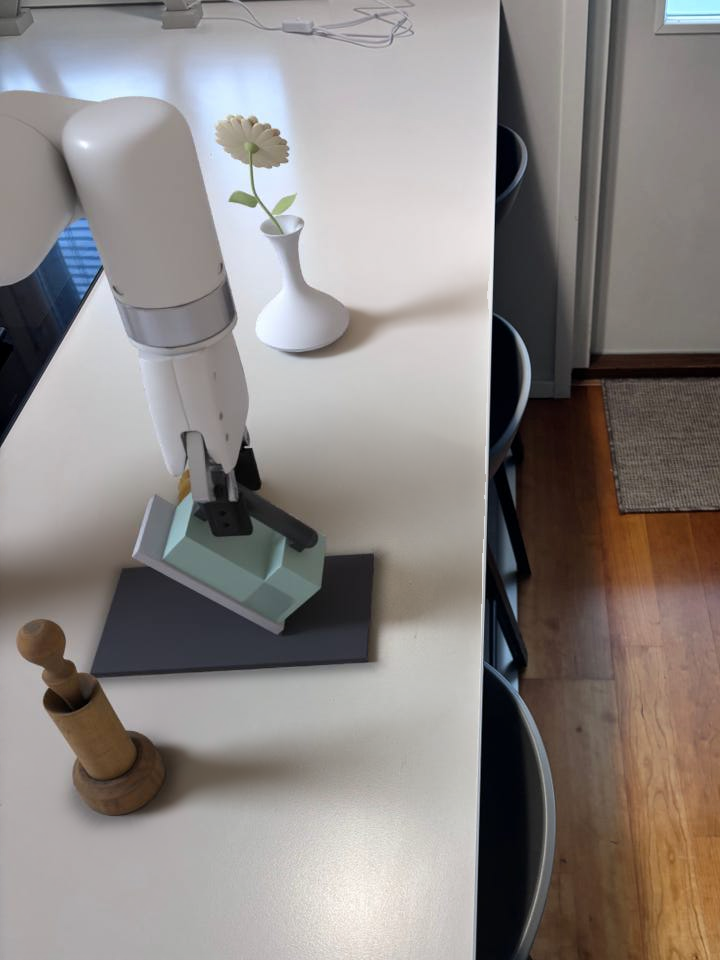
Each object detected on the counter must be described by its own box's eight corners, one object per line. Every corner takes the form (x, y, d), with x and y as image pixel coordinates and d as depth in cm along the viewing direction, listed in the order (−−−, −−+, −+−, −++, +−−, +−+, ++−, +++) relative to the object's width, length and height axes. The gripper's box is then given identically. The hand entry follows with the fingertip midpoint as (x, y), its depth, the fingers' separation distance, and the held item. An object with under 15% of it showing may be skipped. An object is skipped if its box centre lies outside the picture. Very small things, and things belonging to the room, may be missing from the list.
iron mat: (91, 677, 85) (89, 673, 85) (124, 572, 94) (122, 567, 93) (367, 662, 84) (366, 657, 84) (374, 557, 93) (373, 552, 93)
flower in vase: (370, 325, 120) (336, 108, 102) (310, 371, 114) (262, 149, 96) (291, 299, 126) (245, 88, 107) (229, 342, 120) (169, 126, 101)
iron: (131, 557, 79) (195, 488, 74) (148, 500, 83) (209, 432, 78) (277, 635, 86) (344, 578, 81) (285, 578, 91) (349, 521, 86)
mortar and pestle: (64, 791, 77) (-40, 639, 64) (125, 733, 81) (39, 578, 67) (121, 830, 75) (26, 680, 61) (182, 769, 78) (104, 614, 65)
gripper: (147, 247, 72) (209, 448, 86) (92, 380, 61) (173, 587, 74) (249, 242, 72) (294, 444, 85) (212, 374, 61) (272, 583, 74)
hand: (238, 509), depth 80 cm, fingers closed on iron, 4 cm apart
